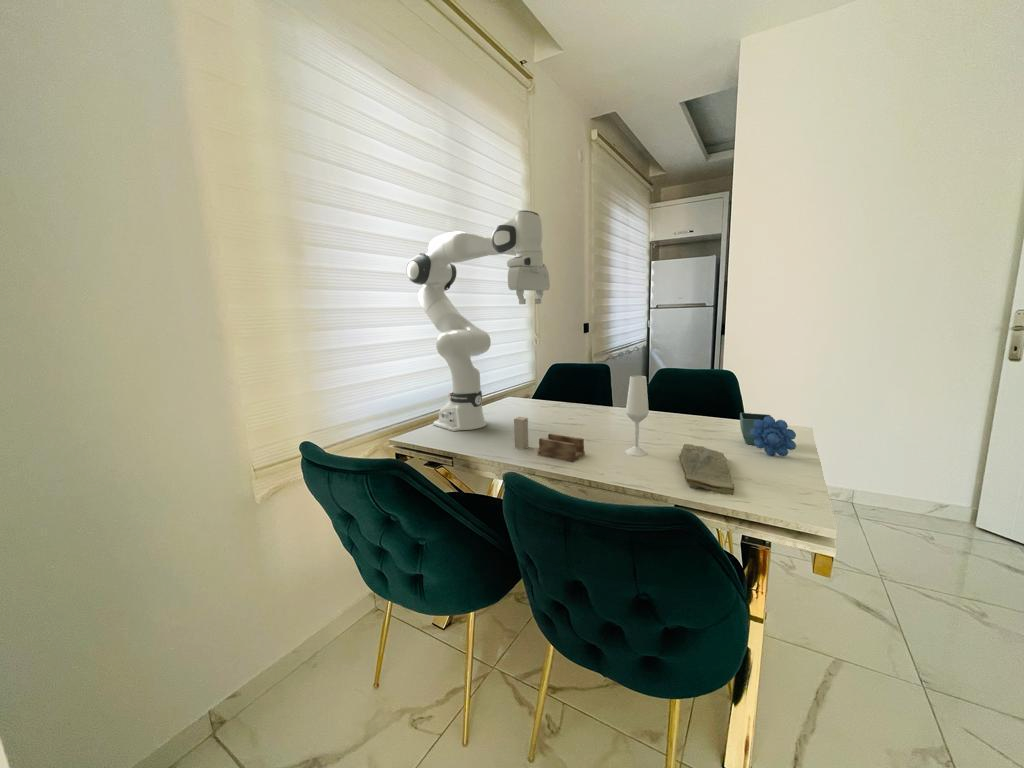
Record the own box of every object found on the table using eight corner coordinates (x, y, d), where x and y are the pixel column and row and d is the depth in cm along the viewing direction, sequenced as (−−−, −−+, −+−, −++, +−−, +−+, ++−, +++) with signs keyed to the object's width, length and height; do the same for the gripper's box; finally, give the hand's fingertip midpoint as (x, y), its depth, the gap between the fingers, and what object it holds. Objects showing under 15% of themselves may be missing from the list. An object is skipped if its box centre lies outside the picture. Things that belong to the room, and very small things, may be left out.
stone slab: (722, 445, 119) (739, 480, 91) (721, 459, 120) (738, 497, 92) (677, 441, 124) (681, 473, 96) (677, 454, 124) (680, 490, 96)
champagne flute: (647, 456, 119) (649, 378, 115) (624, 454, 121) (626, 378, 117) (647, 449, 125) (649, 375, 122) (625, 448, 128) (627, 375, 124)
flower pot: (772, 448, 123) (774, 420, 122) (740, 445, 127) (741, 418, 126) (768, 440, 131) (770, 414, 130) (737, 437, 135) (739, 412, 133)
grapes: (748, 457, 117) (750, 417, 115) (748, 450, 122) (751, 412, 120) (796, 463, 111) (800, 422, 109) (794, 456, 116) (797, 416, 114)
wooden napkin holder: (538, 455, 123) (538, 439, 122) (551, 448, 130) (550, 433, 129) (573, 462, 116) (573, 445, 115) (584, 454, 123) (584, 438, 122)
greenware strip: (514, 447, 131) (513, 418, 130) (519, 445, 134) (519, 416, 132) (523, 449, 129) (522, 419, 128) (528, 446, 132) (527, 417, 130)
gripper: (538, 264, 142) (539, 303, 145) (503, 261, 126) (505, 305, 129) (553, 263, 138) (554, 303, 141) (519, 259, 122) (520, 304, 125)
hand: (530, 304), depth 135 cm, fingers open, 8 cm apart
